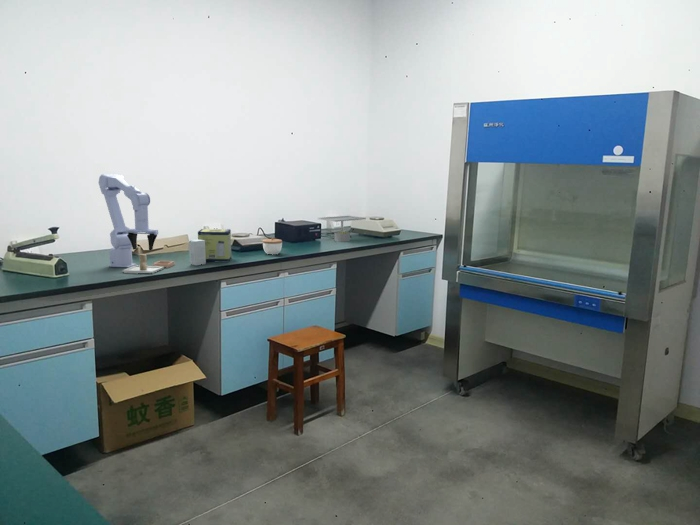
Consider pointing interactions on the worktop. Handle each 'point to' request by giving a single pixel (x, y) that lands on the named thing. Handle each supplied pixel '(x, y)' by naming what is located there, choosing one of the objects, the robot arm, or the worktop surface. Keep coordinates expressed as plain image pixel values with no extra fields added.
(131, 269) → the tray
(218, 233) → the protein box
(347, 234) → the solar panel model
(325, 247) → the worktop surface
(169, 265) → the pin cup
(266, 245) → the lidded jar
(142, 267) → the dowel pin
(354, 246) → the worktop surface
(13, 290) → the worktop surface
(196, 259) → the skincare box
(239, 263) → the worktop surface
